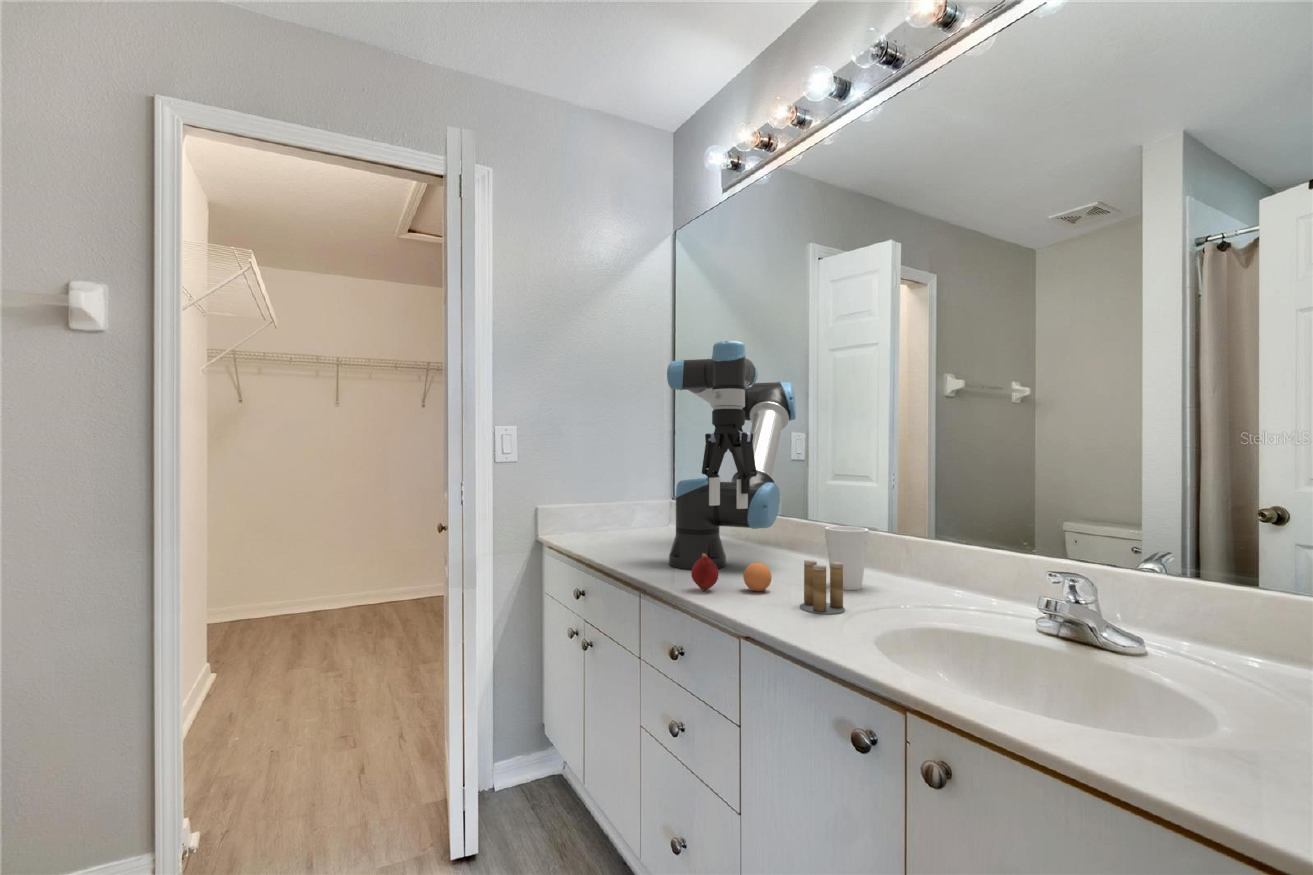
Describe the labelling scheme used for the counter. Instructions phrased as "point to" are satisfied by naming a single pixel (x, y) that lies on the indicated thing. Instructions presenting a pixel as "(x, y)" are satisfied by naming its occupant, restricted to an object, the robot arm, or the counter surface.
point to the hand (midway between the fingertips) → (727, 506)
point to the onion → (704, 573)
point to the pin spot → (828, 611)
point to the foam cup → (848, 552)
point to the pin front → (808, 581)
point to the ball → (757, 576)
